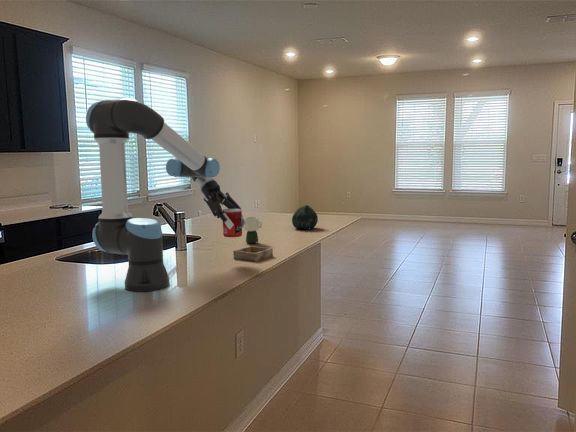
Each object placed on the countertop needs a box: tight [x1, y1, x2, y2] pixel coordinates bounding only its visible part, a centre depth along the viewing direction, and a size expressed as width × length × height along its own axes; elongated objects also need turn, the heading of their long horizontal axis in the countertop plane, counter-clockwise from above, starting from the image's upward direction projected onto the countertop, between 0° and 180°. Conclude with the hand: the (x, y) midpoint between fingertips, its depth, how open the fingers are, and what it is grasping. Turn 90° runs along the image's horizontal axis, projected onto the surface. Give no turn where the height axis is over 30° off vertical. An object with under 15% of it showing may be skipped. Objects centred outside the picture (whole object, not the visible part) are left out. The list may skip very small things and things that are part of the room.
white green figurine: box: [242, 216, 263, 244], centre depth 249 cm, size 11×7×13 cm, turn 73°
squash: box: [291, 204, 319, 230], centre depth 291 cm, size 14×15×15 cm
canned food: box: [222, 208, 243, 238], centre depth 206 cm, size 8×8×11 cm
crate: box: [232, 245, 274, 263], centre depth 216 cm, size 12×12×4 cm
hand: (238, 225), depth 204 cm, fingers closed on canned food, 8 cm apart
